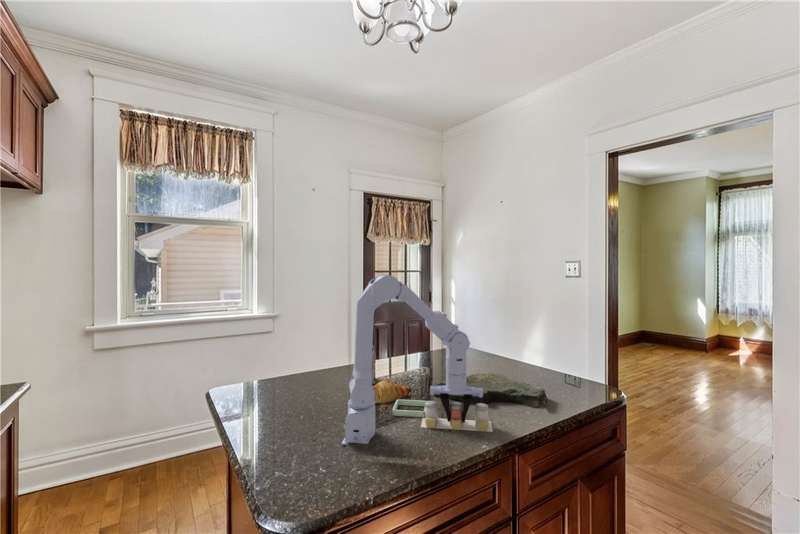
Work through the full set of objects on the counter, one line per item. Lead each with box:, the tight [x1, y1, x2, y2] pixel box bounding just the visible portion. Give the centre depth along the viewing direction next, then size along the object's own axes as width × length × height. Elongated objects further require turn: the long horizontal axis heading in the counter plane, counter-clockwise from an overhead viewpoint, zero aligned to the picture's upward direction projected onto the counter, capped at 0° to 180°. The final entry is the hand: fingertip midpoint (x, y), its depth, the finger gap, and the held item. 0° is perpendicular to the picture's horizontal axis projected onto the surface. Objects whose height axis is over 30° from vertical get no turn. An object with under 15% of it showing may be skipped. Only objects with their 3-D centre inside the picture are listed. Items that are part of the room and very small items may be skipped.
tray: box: [391, 398, 428, 418], centre depth 116 cm, size 9×10×2 cm
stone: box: [433, 372, 548, 409], centre depth 129 cm, size 35×6×29 cm
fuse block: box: [420, 417, 494, 433], centre depth 106 cm, size 6×20×3 cm, turn 81°
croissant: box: [372, 380, 412, 404], centre depth 127 cm, size 21×10×8 cm, turn 115°
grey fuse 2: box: [474, 403, 489, 428], centre depth 105 cm, size 4×4×6 cm
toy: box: [371, 345, 377, 385], centre depth 147 cm, size 6×19×15 cm, turn 16°
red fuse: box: [449, 401, 463, 426], centre depth 106 cm, size 4×4×6 cm
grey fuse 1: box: [424, 400, 439, 425], centre depth 107 cm, size 4×4×6 cm
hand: (456, 420), depth 106 cm, fingers closed on red fuse, 3 cm apart
